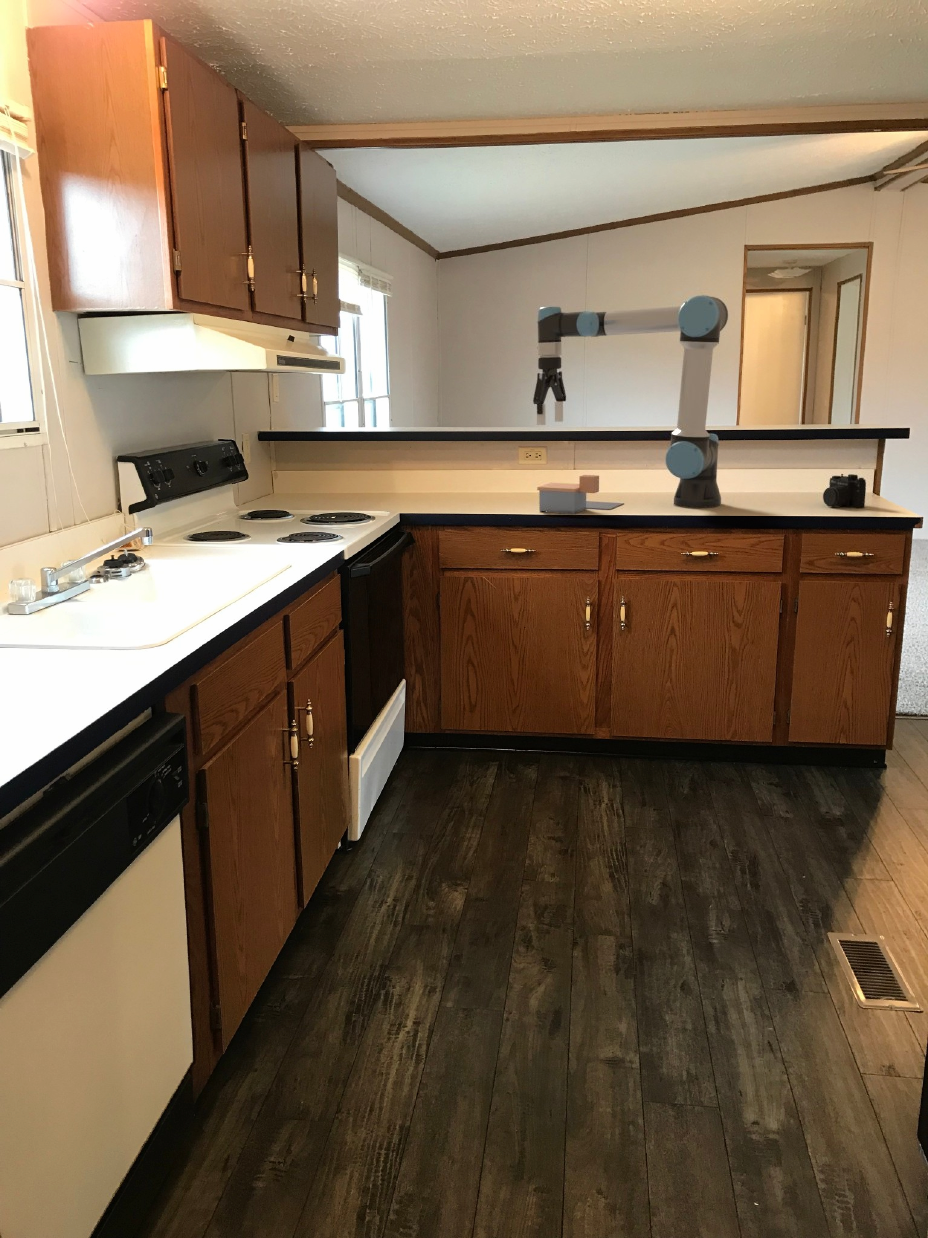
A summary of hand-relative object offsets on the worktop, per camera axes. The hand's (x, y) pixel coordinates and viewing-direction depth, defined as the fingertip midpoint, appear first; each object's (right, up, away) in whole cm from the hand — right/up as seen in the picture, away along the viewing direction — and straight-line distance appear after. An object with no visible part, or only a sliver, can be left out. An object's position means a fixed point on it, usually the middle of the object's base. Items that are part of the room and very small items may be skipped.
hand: (550, 423), depth 327 cm
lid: (+5, -24, -10) cm, 26 cm away
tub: (+3, -30, -7) cm, 31 cm away
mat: (+14, -27, +1) cm, 31 cm away
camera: (+91, -29, -11) cm, 96 cm away
